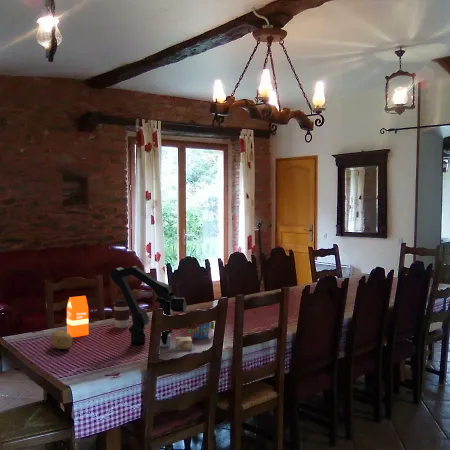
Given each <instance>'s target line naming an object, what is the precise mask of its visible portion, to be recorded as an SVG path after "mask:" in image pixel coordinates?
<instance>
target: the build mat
mask: <svg viewBox="0 0 450 450" xmlns="http://www.w3.org/2000/svg"><path fill="white" fill-rule="evenodd" d="M172 347H173V351H174V352H175V351H177V352H178V351H196V347H195V344H194V343H192V349H178V350H177V347H176V343H175V344H172Z"/></svg>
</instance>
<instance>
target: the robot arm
mask: <svg viewBox="0 0 450 450" xmlns="http://www.w3.org/2000/svg"><path fill="white" fill-rule="evenodd" d="M131 275H132V276H133V277H134V278H136V279H138V280H139V281H140V282H142V283H143V284H145V285H146V286H148V287H149V288H151V289H152V291H153V292H154V294H156V295H157V298H156V299H155V300H154V302H155V303H158V309H159V308H163V311H164V314H166V315H172V312H176V313H186V311H187V307H188V306H187V305H188V304H187V301H186V298H185V297H177V296H176V295H175V293H174V291H173V289H172V286H171V285H169V284H167V283H166V282H162V281H159V280H157V279H156V278H154V277H152V276H151V275H149V274H148V273H147V272H145V271H143V270H142V269H141V268H140V267H138V266H137V265H134V266H129V267H126V268H123V267H117V268H113V269H112V270H111V271H110V273H109V277H110V279H111V280H112V282H113V283H114V284H115V285H116V286H117V287H118V288H119V290H120V292H121V294H122V297H123V299H125V301H126V303H127V305H128V307H129V309H130V315H131V321H132V325H131V326H130V327H129V328H128V331H129V333H130V346H144V345H145V343H146V332H145V329H146V327H147V326H148V325H149V324H150V323H149V322H150V319H149V318H150V316H149V315H148V313H147V310H144V311H143V310H142V309H141V307H140V306H139V303H138V301H137V300H136V297H135V295H134V293H133V291H132V289H131V286H130V285H129V279H128V276H131ZM171 311H172V312H171ZM169 333H170V334H172V333H173V329H172V330H169V331H165V332H162V336H161V339H162V342H163V344H164V345H166V342H167V338H168V334H169Z"/></svg>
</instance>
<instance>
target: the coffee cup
mask: <svg viewBox="0 0 450 450" xmlns="http://www.w3.org/2000/svg"><path fill="white" fill-rule="evenodd" d="M112 306H113V318H114V327H115V328H118V329H124V328H128V327H129V326H130V325H129V323H130V316H131V311H130V309H129V307H128V305H127V303H126V301H125V299H124V298H118V299H115V300H114V301H113V302H112Z"/></svg>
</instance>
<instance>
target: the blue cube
mask: <svg viewBox="0 0 450 450" xmlns="http://www.w3.org/2000/svg"><path fill="white" fill-rule="evenodd" d="M170 346H171V333H169V334H168V338H167V342H166V345H164V344H163V342H162V339H161V348H162V347H170Z"/></svg>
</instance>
